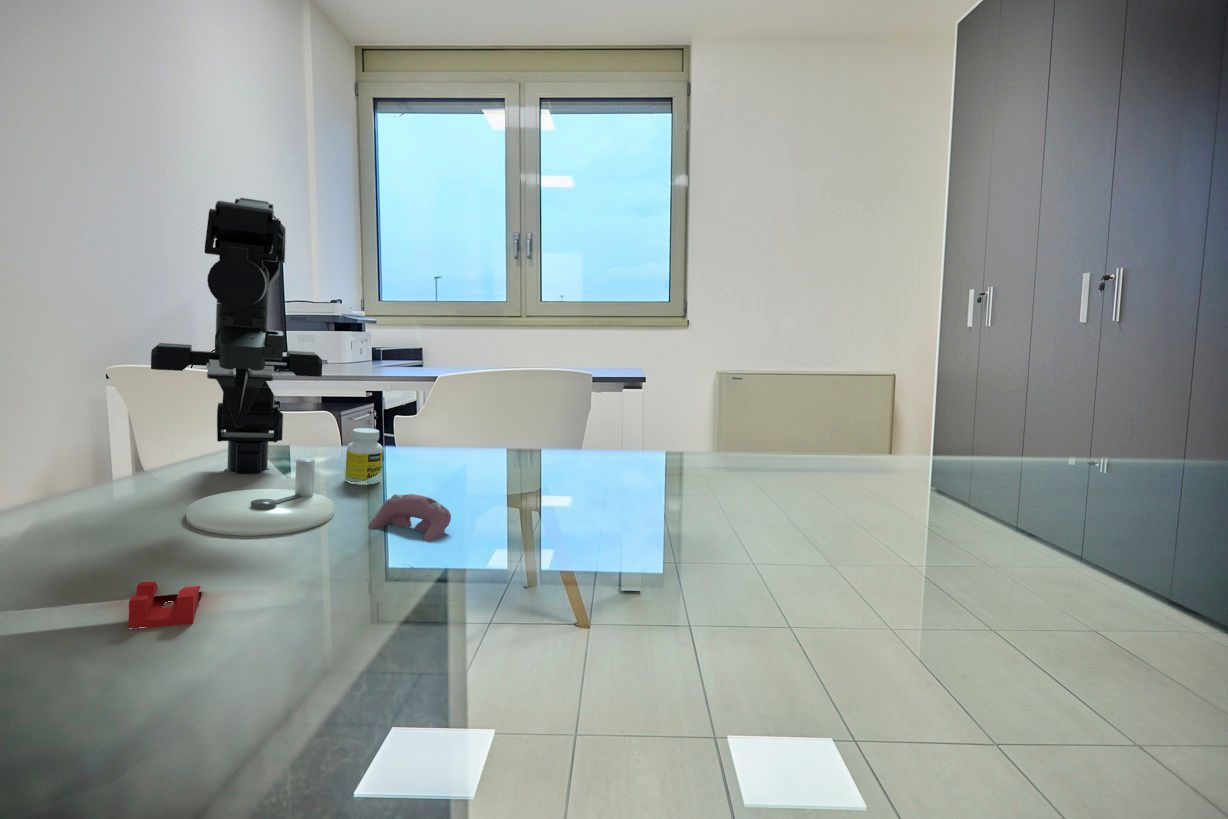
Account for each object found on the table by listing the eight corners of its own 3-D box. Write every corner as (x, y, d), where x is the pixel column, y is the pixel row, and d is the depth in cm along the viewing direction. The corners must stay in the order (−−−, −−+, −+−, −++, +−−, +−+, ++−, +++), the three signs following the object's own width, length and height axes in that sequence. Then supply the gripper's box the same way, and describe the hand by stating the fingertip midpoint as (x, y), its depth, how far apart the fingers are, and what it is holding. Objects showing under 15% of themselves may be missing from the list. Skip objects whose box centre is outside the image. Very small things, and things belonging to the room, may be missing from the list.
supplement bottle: (368, 496, 105) (371, 435, 104) (337, 491, 106) (340, 430, 105) (386, 488, 110) (390, 430, 109) (357, 483, 111) (360, 425, 110)
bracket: (192, 627, 61) (193, 596, 61) (128, 633, 59) (128, 600, 59) (201, 598, 67) (202, 569, 67) (143, 602, 65) (144, 573, 65)
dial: (329, 494, 99) (331, 454, 98) (338, 532, 84) (340, 485, 83) (194, 497, 91) (195, 454, 91) (177, 539, 76) (178, 488, 76)
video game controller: (444, 557, 88) (460, 505, 90) (427, 551, 84) (444, 497, 86) (379, 542, 91) (396, 492, 93) (360, 536, 86) (379, 483, 89)
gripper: (147, 299, 74) (145, 439, 76) (330, 315, 83) (324, 439, 85) (155, 297, 83) (154, 421, 85) (319, 311, 93) (314, 423, 95)
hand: (238, 426), depth 87 cm, fingers closed
